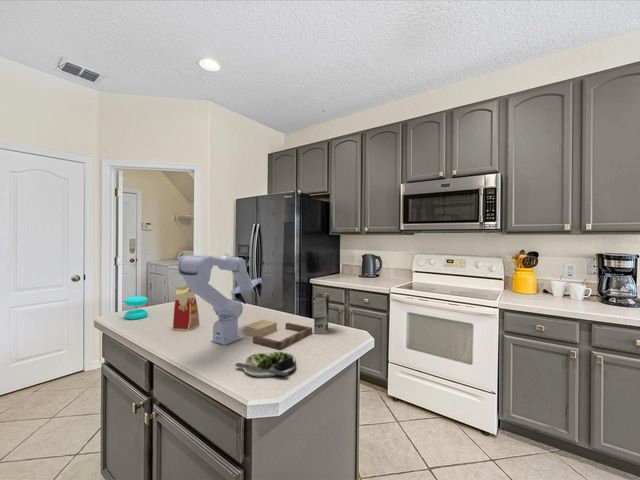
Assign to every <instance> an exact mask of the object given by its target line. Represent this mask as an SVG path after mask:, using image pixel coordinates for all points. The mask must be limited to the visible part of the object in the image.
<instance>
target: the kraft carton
mask: <svg viewBox="0 0 640 480" xmlns="http://www.w3.org/2000/svg"><path fill="white" fill-rule="evenodd" d="M277 325H278V323H277V322H275V321H271V320H266V319H262V320H261V319H260V320H258V321H256V322H252V323H249V324H247V325H244V328H243V329H244V335H245V336H248V337H252V338H253V336H259V337H265V336H267V335H269V334H272V333H274V332H276V331H278V330H277V328H278V327H277ZM244 335H243V336H244Z"/></svg>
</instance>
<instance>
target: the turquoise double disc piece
mask: <svg viewBox="0 0 640 480" xmlns="http://www.w3.org/2000/svg"><path fill="white" fill-rule="evenodd" d="M148 301H149V298H148V297H146V296H141V295H139V296H131V297H130V296H129V297H127V298H125V300H124V304H125V305H127V306H129V307H139V306H143V305H145V304H147V303H148ZM147 316H148V311H147V310H146V309H143V308H137V309H136V308H135V309H131V310H128V311H126V312H125V314H124V318H125V319H126V320H141V319H144V318H146V317H147Z"/></svg>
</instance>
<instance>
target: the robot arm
mask: <svg viewBox="0 0 640 480" xmlns="http://www.w3.org/2000/svg"><path fill="white" fill-rule="evenodd" d="M177 263H178V264H177V273H178V275H180V276H181V277H182V278H183V280H184V281H185V283H186V286H187V285H188V287H189V289H190V290H191V291H192V292H193V293H195V296H198V297H199V298H201V299H203V300H204V301H205V302H207V303H208V304H210V305H211V306H212V310H213V311H214V314H215V315H216V316H217V319H218V320H217V321H215V322H213V326H212V339H211V342H213V343H216V344H221V345H223V346H226V345H229V344H230V343H231V344H232V343H233V342H237V341H239V340H241V339H243V336H239V334H238V330H239V329H238V328H239V325H238V324H239V318H240V317H241V316H242V314H243V310H244V308H243V304H244V305H246V300H245V298H244V296H243V295H242V293H246V292H249V291H251V290H252V289H253V288H254V287H256V291H257V293H258V295H259V297H260V298H261V297H262V288H263V287H262V284H263V280H262V278H261V277H258V278H254V279H251V278H250V275H249V273H248V271H247V270H248V269H247V265H246V264H247V262H246V259H244V258H243V257H236V256H235V255H231V256H230V255H229V254H228V253H223V254H222V255H220V256H219V257H218V256H214V255H205V254H201V255H199V254H198V255H197V254H196V255H194V254H193V255H183V256H182V255H181V257H180V258H179V259H178V262H177ZM214 266H217V268H218V269H220V270H221V271H223V270H224V271H230V272H231V273H232V275H233V277H234V279H235V281H236V283H237V284H238V285H237V286H236V287H235V288H233V289H232V290H230V294H231V296H232V297H235V299H236V300H239V301H240V302H239V301H236V300H233V299H229V298H228V297H226V296H225V295H224V294H223V293H221V292H220V291H218V289H217V288H215V287H213V286H212V285H211V284H209V282H210V280H211V274H212V269H213V268H214ZM241 302H242V303H243V304H242V303H241Z"/></svg>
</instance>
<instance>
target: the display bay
mask: <svg viewBox="0 0 640 480" xmlns="http://www.w3.org/2000/svg"><path fill="white" fill-rule="evenodd" d="M284 326H285V330H289V331H294V332H296V333H294V334H292V335H290V336H288V337H285V338H283V339H281V340H280V341H278V340H274V339H270V338H266V337H264V336H262V337H259V336H253V337H252V343H253V344H257V345H260V346H263V347H267V348H271V349H273V350H274V349H275V350H279V351H281V350H283V349H285V348H287V347H288V346H290V345H293V344H294V343H296V342H298V341H300V340H302V339H304V338H306V337H307V336H309V335H312V333H313V327H310V326H305V325H300V324H297V323H296V324H295V323H291V322H285V325H284Z"/></svg>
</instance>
